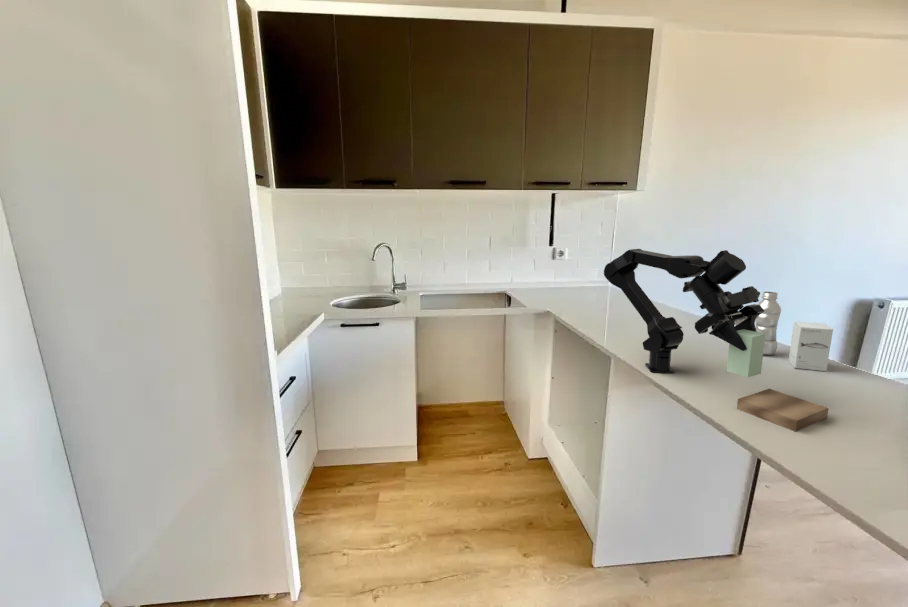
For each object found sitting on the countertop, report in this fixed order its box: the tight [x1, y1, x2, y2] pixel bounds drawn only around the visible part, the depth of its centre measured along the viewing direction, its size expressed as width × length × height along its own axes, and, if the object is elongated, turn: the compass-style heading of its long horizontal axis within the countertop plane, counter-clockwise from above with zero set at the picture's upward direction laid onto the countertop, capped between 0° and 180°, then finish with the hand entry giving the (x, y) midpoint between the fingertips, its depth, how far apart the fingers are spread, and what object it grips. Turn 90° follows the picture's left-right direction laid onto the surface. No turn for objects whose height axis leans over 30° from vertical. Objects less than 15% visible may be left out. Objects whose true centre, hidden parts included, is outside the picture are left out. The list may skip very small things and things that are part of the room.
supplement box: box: [788, 320, 834, 372], centre depth 119 cm, size 7×7×13 cm
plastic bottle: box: [755, 291, 782, 356], centre depth 130 cm, size 6×7×20 cm
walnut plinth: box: [736, 388, 829, 432], centre depth 93 cm, size 12×12×2 cm
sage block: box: [726, 329, 765, 379], centre depth 99 cm, size 5×5×10 cm
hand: (752, 348), depth 98 cm, fingers closed on sage block, 5 cm apart
